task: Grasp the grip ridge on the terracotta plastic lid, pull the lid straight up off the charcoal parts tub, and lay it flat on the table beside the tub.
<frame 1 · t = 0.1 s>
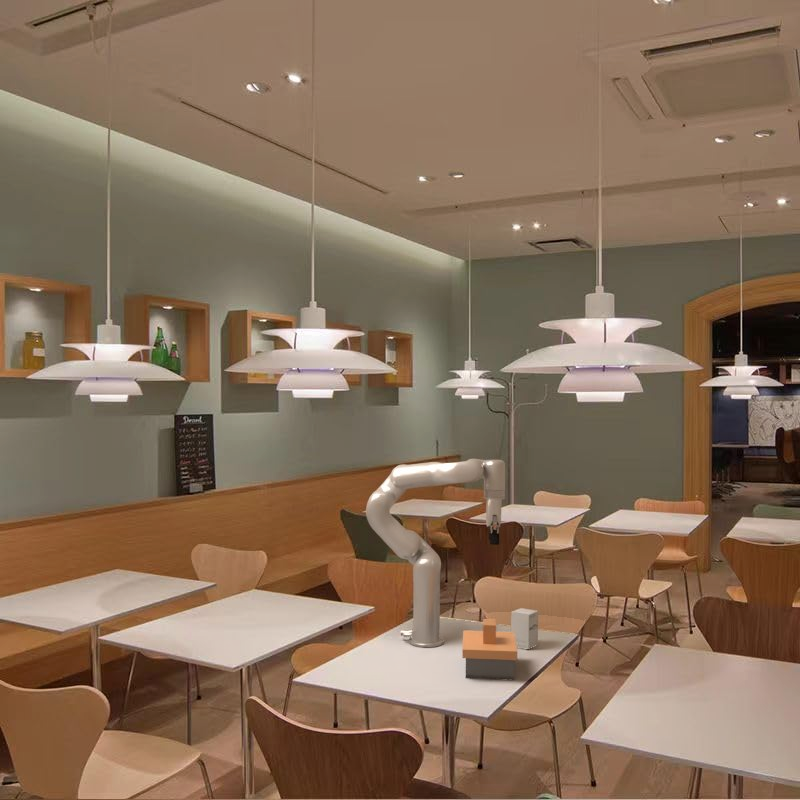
hand: (493, 542, 295), 37 cm above the table, tool pointing down, fingers open, 9 cm apart
tub: (489, 668, 269), on the table
lid: (489, 648, 269), point 6 cm above the table, touching tub
supplement box: (524, 646, 294), on the table
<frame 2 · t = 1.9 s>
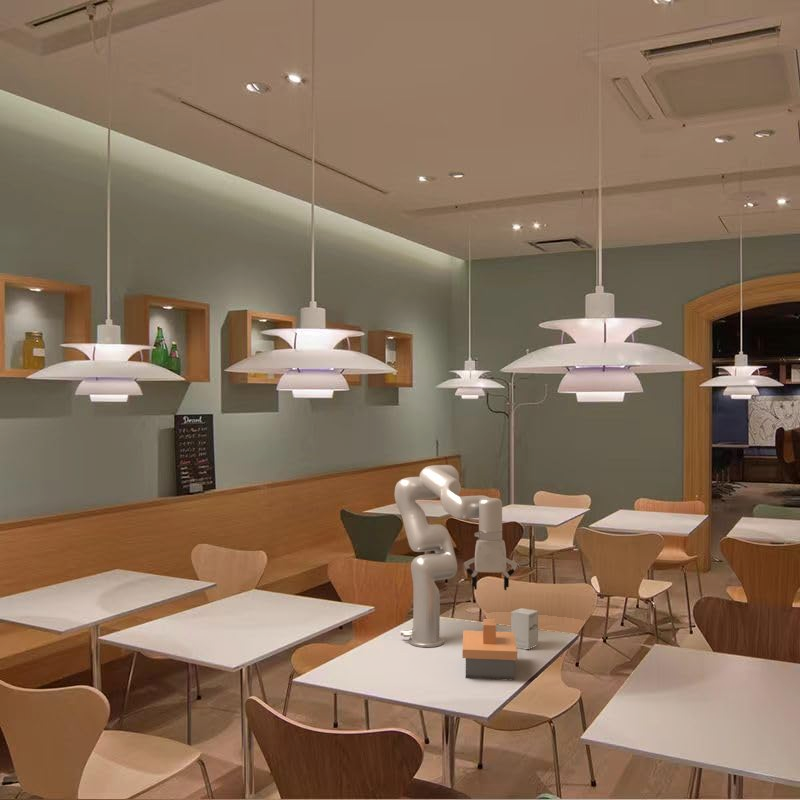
hand: (490, 589, 269), 26 cm above the table, tool pointing down, fingers open, 9 cm apart
nothing on the table moved.
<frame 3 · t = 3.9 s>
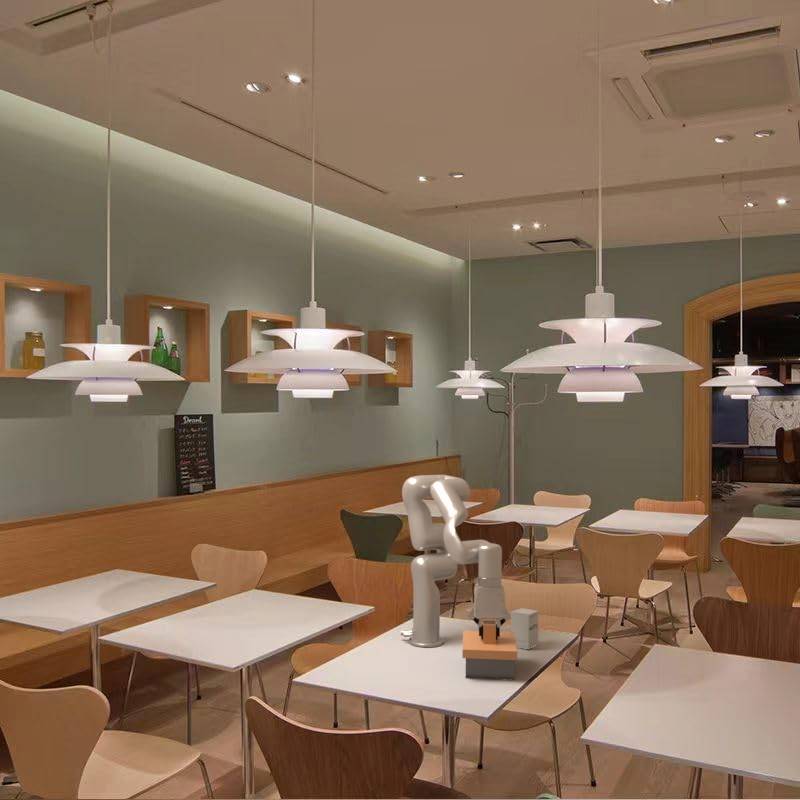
hand: (489, 638, 269), 10 cm above the table, tool pointing down, fingers closed on lid, 4 cm apart
lid: (489, 648, 269), point 6 cm above the table, touching gripper, tub
everything else where it was.
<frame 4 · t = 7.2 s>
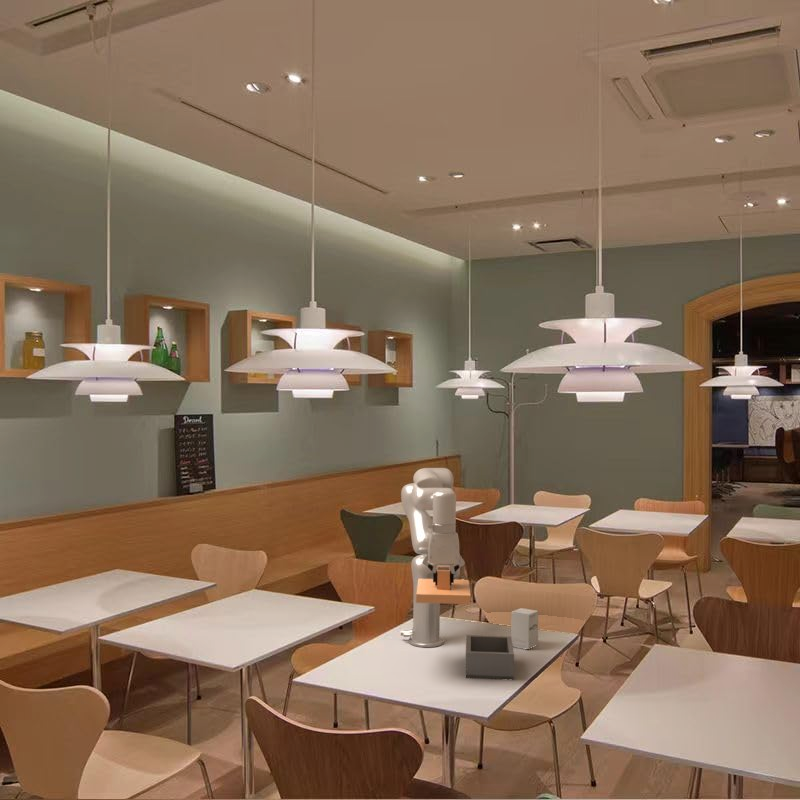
hand: (443, 584, 270), 27 cm above the table, tool pointing down, fingers closed on lid, 4 cm apart
lid: (443, 594, 270), point 23 cm above the table, touching gripper
everything else where it was.
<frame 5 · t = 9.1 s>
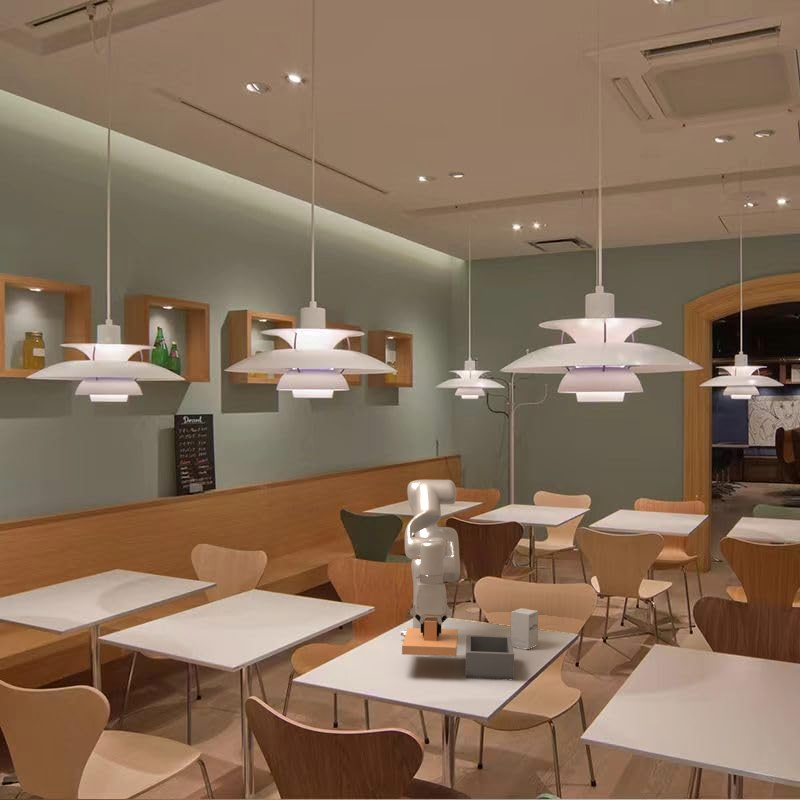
hand: (430, 634, 270), 10 cm above the table, tool pointing down, fingers closed on lid, 4 cm apart
lid: (430, 645, 270), point 7 cm above the table, touching gripper
everything else where it was.
when the fingers open (5 cm above the table, at t = 10.5 s): lid drops 2 cm, on the table.
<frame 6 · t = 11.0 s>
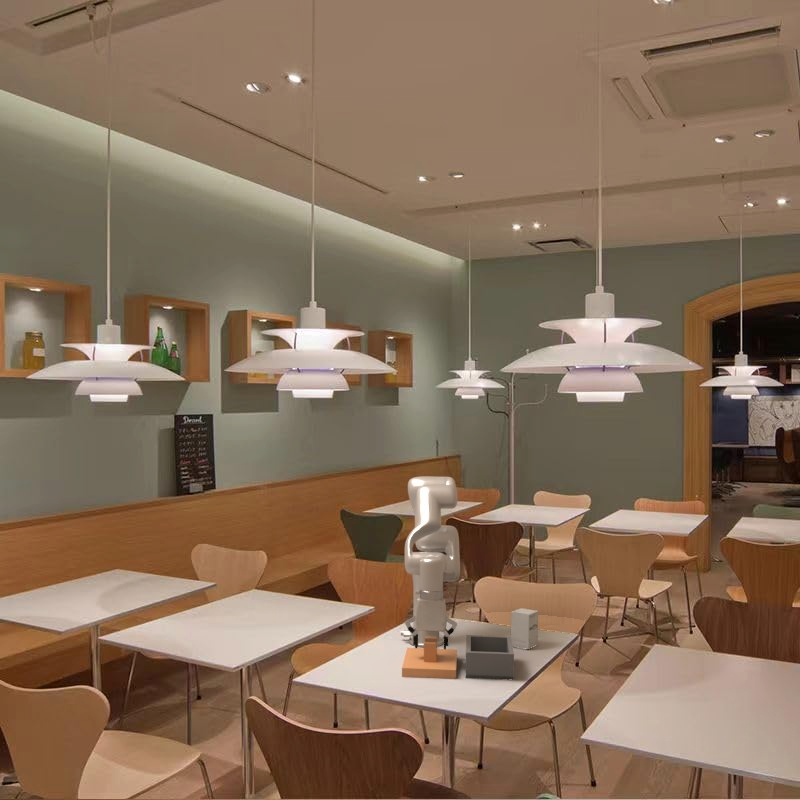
hand: (430, 647, 270), 6 cm above the table, tool pointing down, fingers open, 9 cm apart
lid: (430, 666, 270), on the table
everything else where it was.
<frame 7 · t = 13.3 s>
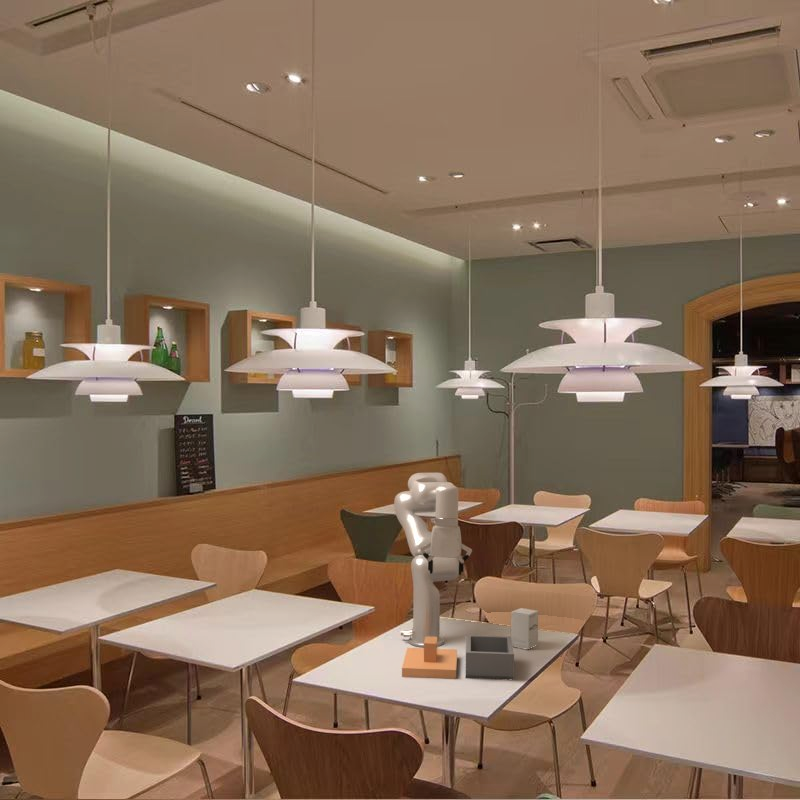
hand: (445, 573, 276), 29 cm above the table, tool pointing down, fingers open, 9 cm apart
nothing on the table moved.
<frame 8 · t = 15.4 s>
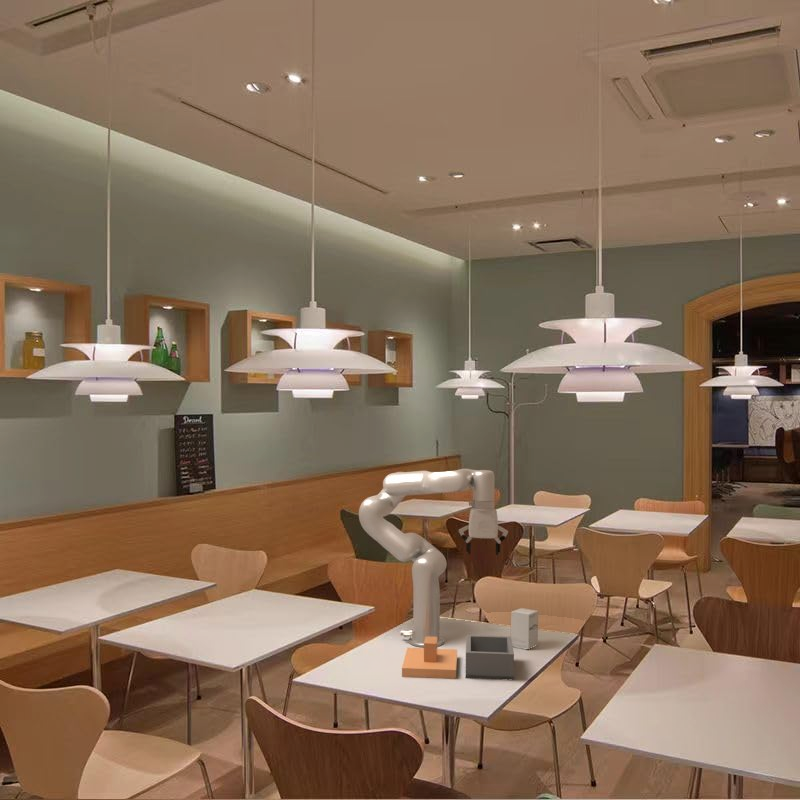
hand: (483, 554, 291), 33 cm above the table, tool pointing down, fingers open, 9 cm apart
nothing on the table moved.
at the end: lid inside the target area (0.0 cm from its centre), on the table; lid tilted 0°; lid touching table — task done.
